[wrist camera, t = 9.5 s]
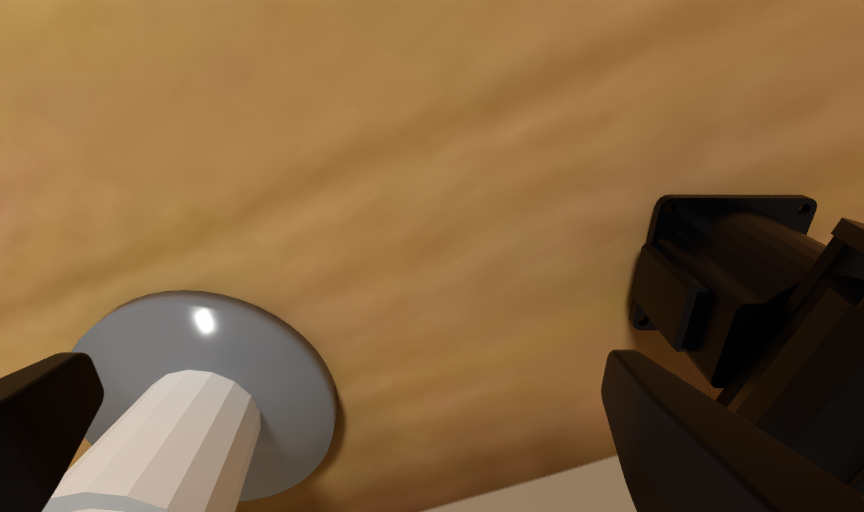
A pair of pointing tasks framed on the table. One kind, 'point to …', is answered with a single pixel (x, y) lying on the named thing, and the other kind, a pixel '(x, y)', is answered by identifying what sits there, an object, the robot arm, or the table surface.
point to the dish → (221, 374)
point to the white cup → (168, 451)
